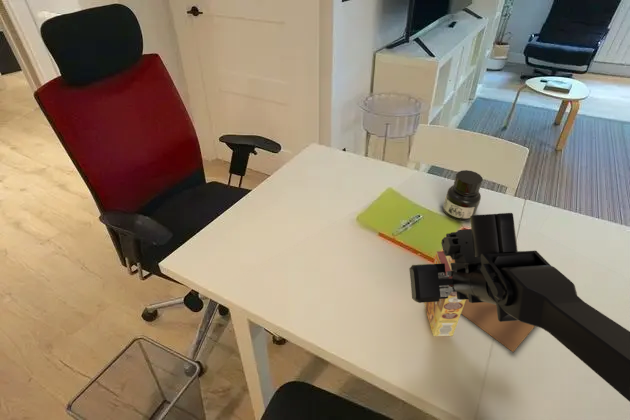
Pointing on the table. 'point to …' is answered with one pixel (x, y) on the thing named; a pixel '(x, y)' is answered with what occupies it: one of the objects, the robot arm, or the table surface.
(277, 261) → the table surface
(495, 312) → the cork mat
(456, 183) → the ink bottle
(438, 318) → the candy box
